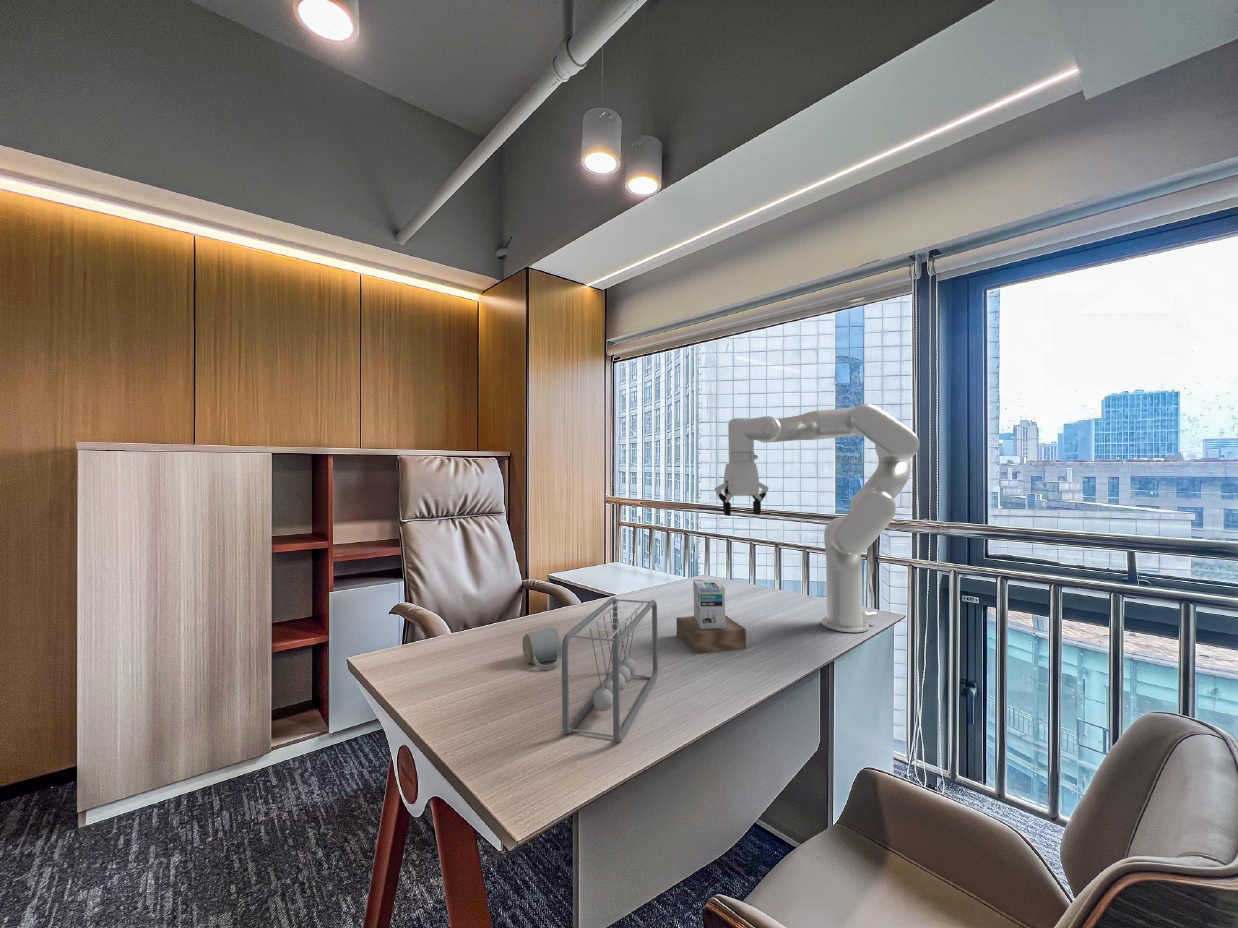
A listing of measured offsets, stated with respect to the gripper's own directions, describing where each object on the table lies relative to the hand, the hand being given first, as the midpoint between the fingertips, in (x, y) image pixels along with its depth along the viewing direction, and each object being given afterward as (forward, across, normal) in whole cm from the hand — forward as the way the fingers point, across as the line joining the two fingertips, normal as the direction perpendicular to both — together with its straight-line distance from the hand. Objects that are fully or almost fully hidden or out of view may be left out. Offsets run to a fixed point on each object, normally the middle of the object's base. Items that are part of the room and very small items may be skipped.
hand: (742, 514), depth 151 cm
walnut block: (+32, +17, +14) cm, 39 cm away
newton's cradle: (+33, +49, +42) cm, 72 cm away
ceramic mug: (+33, +61, +17) cm, 72 cm away
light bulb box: (+28, +17, +14) cm, 35 cm away
